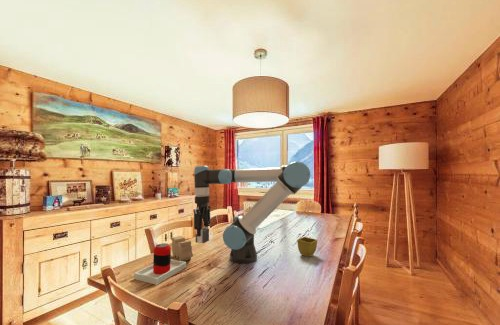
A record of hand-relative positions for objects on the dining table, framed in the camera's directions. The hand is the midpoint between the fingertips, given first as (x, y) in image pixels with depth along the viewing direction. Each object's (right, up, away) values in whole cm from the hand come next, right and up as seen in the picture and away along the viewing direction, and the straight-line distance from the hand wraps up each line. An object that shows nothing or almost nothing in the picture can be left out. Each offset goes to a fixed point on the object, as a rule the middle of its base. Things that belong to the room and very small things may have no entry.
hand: (202, 240), depth 117 cm
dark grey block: (0, 0, 0) cm, 0 cm away
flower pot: (+58, -13, +14) cm, 61 cm away
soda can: (-17, -11, -10) cm, 23 cm away
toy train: (-14, -13, +9) cm, 21 cm away
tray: (-17, -12, -10) cm, 23 cm away
